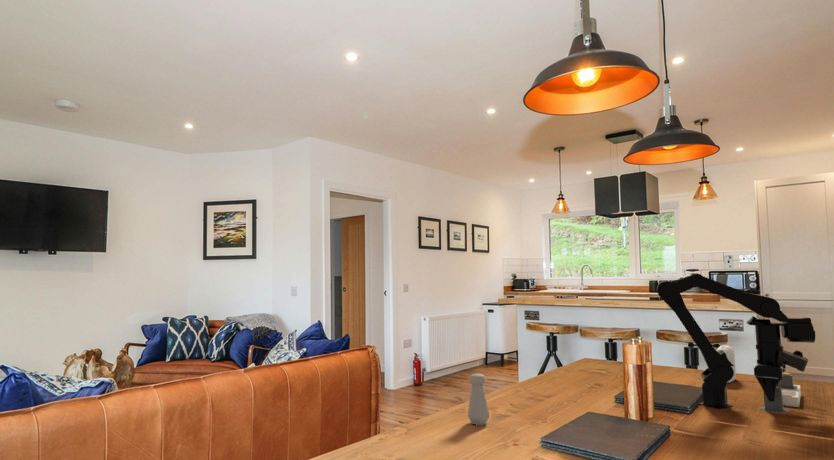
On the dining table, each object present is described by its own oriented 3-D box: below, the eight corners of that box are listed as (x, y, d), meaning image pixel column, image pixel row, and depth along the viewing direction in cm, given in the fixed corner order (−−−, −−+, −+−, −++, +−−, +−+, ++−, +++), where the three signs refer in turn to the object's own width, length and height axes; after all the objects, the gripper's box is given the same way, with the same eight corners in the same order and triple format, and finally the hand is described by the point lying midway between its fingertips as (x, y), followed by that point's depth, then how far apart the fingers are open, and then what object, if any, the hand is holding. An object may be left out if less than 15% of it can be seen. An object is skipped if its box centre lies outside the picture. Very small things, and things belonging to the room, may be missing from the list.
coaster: (780, 416, 133) (780, 414, 133) (753, 409, 139) (753, 408, 139) (795, 412, 136) (795, 410, 136) (768, 406, 142) (768, 404, 142)
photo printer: (724, 377, 180) (721, 343, 181) (737, 379, 177) (735, 344, 178) (715, 382, 173) (713, 346, 174) (729, 384, 170) (726, 347, 171)
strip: (799, 408, 140) (796, 382, 140) (768, 404, 144) (766, 379, 145) (802, 385, 165) (800, 364, 166) (776, 382, 170) (774, 362, 170)
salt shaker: (491, 421, 135) (489, 372, 136) (487, 427, 129) (485, 377, 130) (470, 419, 137) (469, 371, 138) (465, 425, 131) (464, 375, 132)
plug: (782, 412, 135) (780, 388, 136) (764, 410, 137) (763, 387, 138) (783, 409, 138) (781, 386, 139) (766, 406, 141) (764, 384, 141)
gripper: (803, 348, 127) (808, 410, 126) (805, 339, 141) (810, 395, 140) (751, 344, 134) (756, 403, 133) (758, 336, 149) (762, 389, 147)
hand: (772, 397), depth 138 cm, fingers open, 9 cm apart
